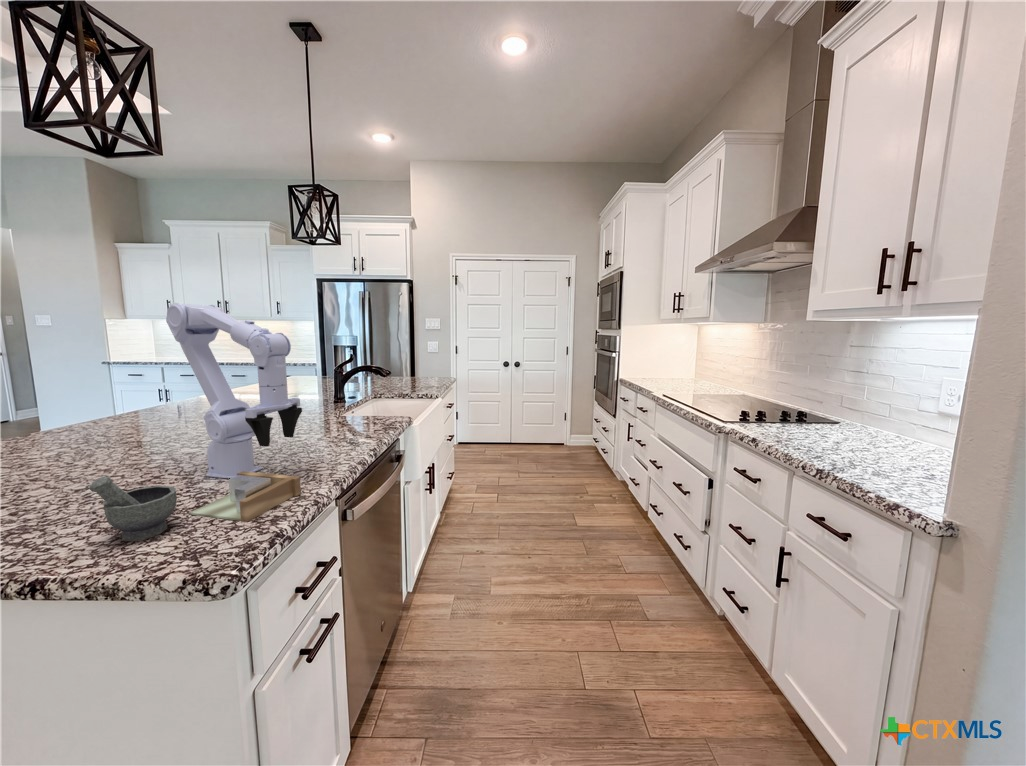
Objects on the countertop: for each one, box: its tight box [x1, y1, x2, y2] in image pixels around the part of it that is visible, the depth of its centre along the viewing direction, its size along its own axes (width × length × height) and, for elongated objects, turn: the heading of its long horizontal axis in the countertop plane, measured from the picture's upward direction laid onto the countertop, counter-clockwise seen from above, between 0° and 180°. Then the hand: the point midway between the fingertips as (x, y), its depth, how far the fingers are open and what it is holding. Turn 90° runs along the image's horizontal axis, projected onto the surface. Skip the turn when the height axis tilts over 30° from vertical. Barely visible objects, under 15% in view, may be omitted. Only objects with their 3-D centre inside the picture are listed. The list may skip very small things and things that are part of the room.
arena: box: [188, 471, 302, 523], centre depth 84 cm, size 15×14×4 cm
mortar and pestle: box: [88, 476, 178, 542], centre depth 71 cm, size 11×9×12 cm
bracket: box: [227, 475, 271, 513], centre depth 83 cm, size 8×6×5 cm
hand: (277, 441), depth 96 cm, fingers open, 7 cm apart
